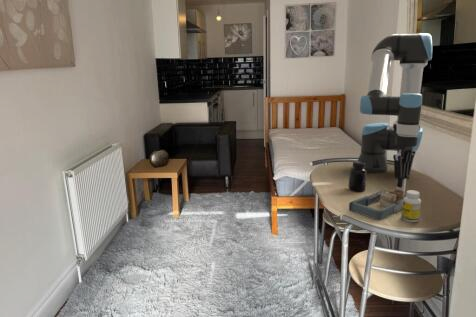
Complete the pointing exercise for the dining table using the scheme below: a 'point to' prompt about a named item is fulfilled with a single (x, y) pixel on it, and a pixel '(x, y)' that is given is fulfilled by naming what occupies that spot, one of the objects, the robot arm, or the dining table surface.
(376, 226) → the dining table surface
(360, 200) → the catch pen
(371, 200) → the slot rails
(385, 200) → the beige cube
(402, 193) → the brown cube
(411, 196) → the supplement bottle
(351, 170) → the supplement bottle
